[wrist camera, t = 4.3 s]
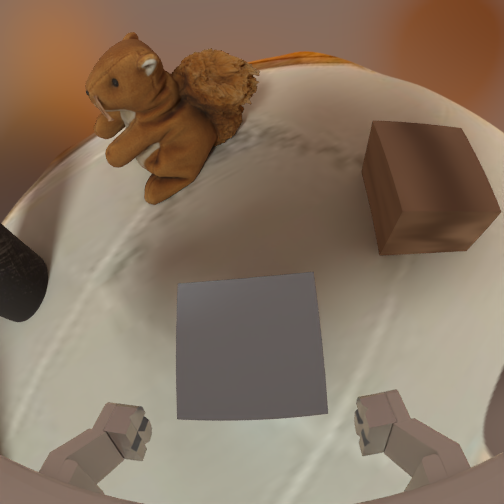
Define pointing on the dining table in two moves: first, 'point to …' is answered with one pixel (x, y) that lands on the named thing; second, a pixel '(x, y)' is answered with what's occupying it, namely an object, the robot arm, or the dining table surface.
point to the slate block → (249, 349)
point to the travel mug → (20, 278)
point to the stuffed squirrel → (167, 110)
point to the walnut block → (425, 189)
